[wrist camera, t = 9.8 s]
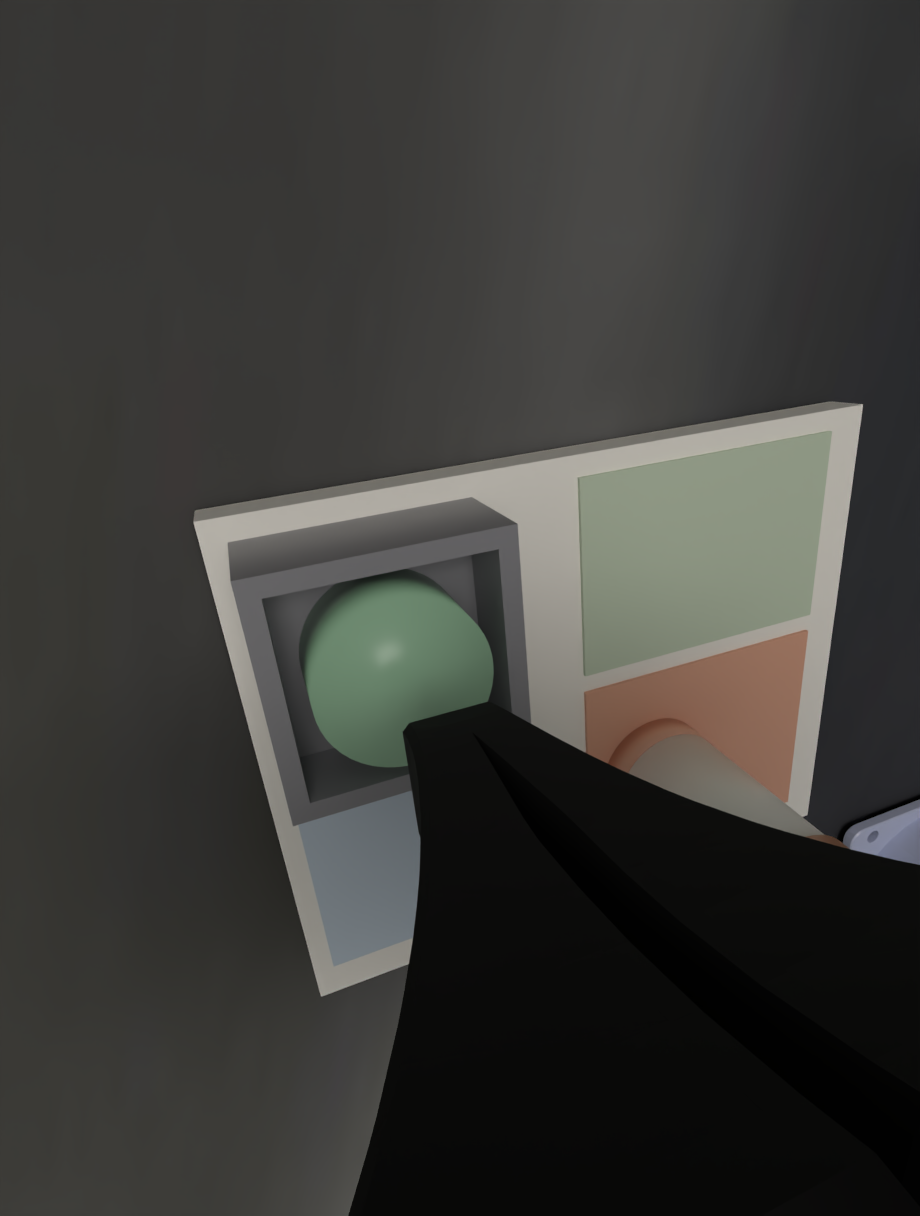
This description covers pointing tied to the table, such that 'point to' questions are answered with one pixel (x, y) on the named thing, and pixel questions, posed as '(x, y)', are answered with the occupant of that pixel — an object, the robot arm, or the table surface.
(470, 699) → the button
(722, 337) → the table surface
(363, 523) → the button housing
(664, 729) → the orange and grey cylinder
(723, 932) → the robot arm
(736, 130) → the table surface
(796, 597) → the board
